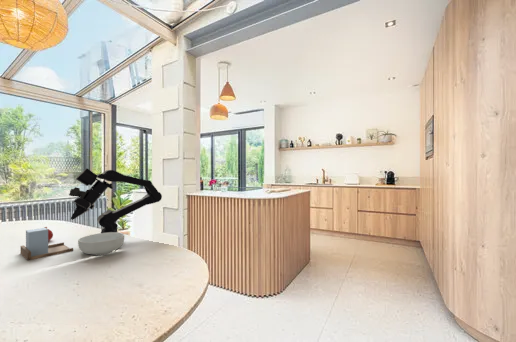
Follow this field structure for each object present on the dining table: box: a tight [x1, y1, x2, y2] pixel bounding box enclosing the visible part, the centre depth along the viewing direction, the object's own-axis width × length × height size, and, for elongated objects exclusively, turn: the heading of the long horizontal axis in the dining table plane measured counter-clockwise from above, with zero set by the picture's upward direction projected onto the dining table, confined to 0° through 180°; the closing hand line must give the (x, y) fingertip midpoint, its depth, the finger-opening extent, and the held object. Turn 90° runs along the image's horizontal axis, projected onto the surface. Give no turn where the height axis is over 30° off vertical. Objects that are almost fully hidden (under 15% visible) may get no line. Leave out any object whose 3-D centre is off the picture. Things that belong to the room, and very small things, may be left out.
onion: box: [43, 226, 54, 242], centre depth 117 cm, size 6×6×8 cm
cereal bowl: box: [77, 231, 125, 257], centre depth 105 cm, size 17×17×7 cm
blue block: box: [25, 227, 49, 257], centre depth 100 cm, size 6×5×10 cm
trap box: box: [20, 242, 74, 261], centre depth 103 cm, size 14×13×4 cm
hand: (71, 219), depth 112 cm, fingers closed
